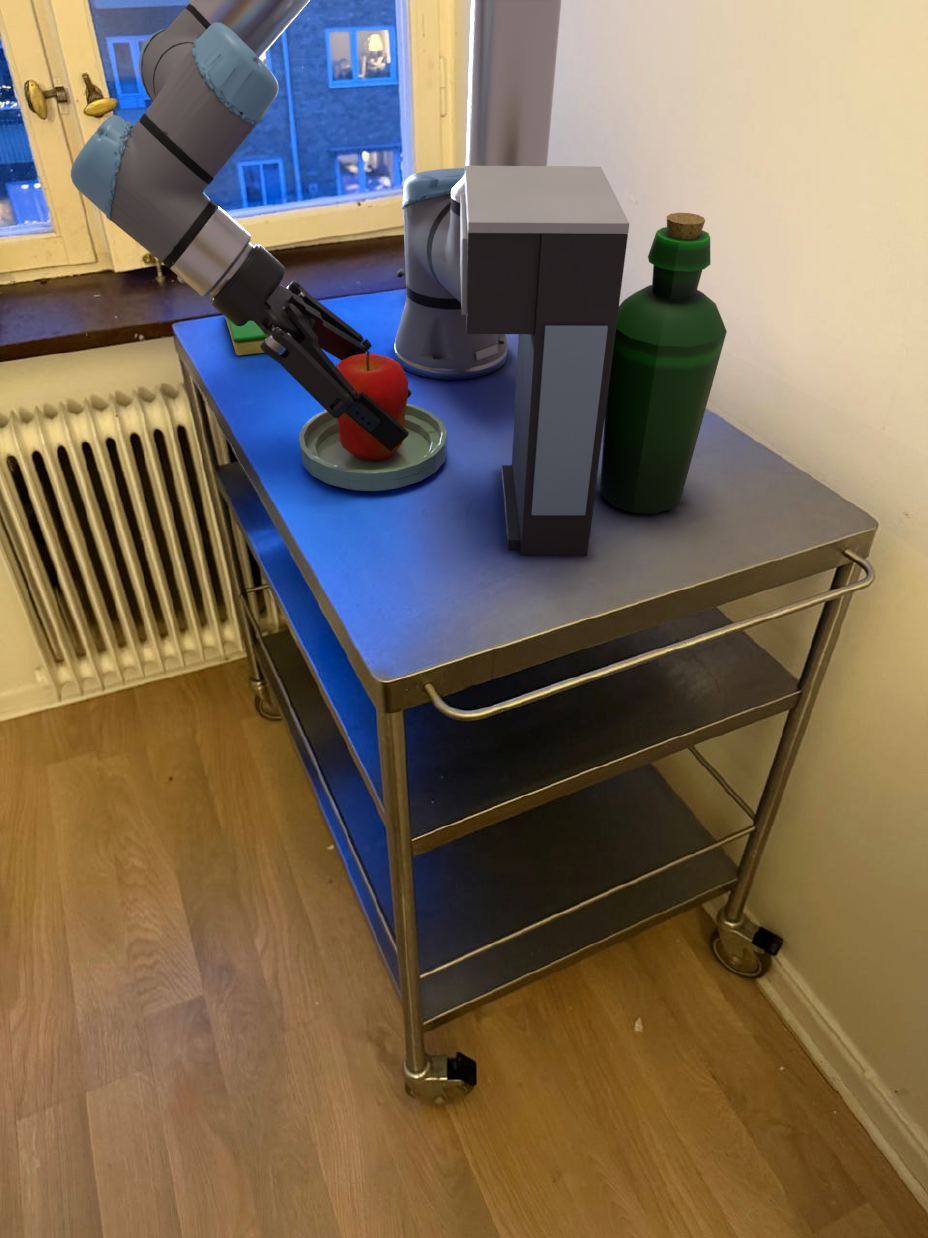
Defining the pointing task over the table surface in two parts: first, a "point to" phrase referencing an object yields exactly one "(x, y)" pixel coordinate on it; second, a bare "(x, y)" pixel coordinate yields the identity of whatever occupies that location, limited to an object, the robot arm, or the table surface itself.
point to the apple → (382, 386)
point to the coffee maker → (547, 333)
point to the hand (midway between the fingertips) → (401, 420)
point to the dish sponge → (246, 338)
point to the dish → (348, 471)
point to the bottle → (661, 373)
